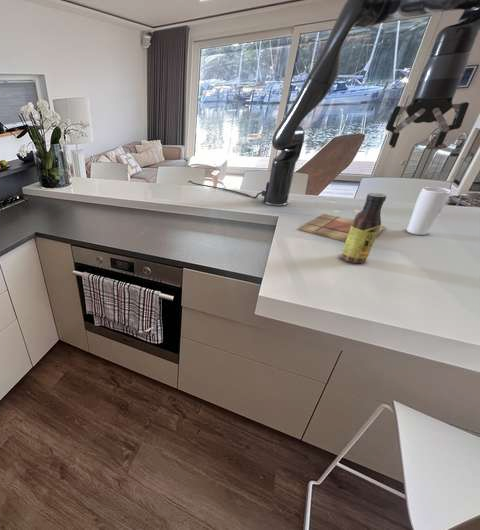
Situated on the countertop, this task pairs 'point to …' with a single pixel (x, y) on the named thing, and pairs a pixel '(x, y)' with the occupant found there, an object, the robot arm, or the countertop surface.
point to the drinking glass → (427, 209)
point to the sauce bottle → (364, 230)
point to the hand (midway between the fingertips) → (412, 147)
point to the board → (331, 227)
